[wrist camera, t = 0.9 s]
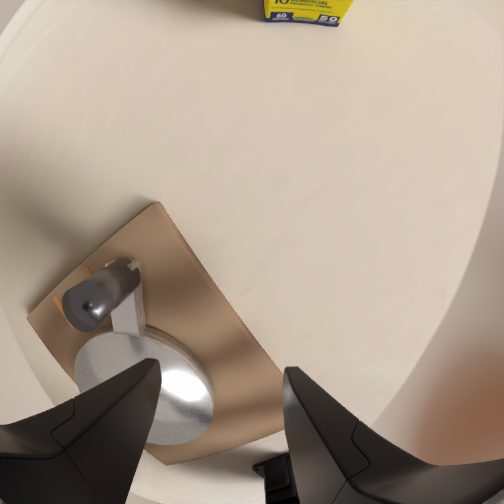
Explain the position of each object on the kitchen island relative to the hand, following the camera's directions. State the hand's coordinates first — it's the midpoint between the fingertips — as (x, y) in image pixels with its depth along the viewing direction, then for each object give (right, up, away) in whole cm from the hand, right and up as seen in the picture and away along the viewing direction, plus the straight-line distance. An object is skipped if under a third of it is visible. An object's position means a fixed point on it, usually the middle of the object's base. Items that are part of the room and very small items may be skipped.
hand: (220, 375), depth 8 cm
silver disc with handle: (-8, -5, +11) cm, 15 cm away
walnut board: (-7, -6, +14) cm, 17 cm away
